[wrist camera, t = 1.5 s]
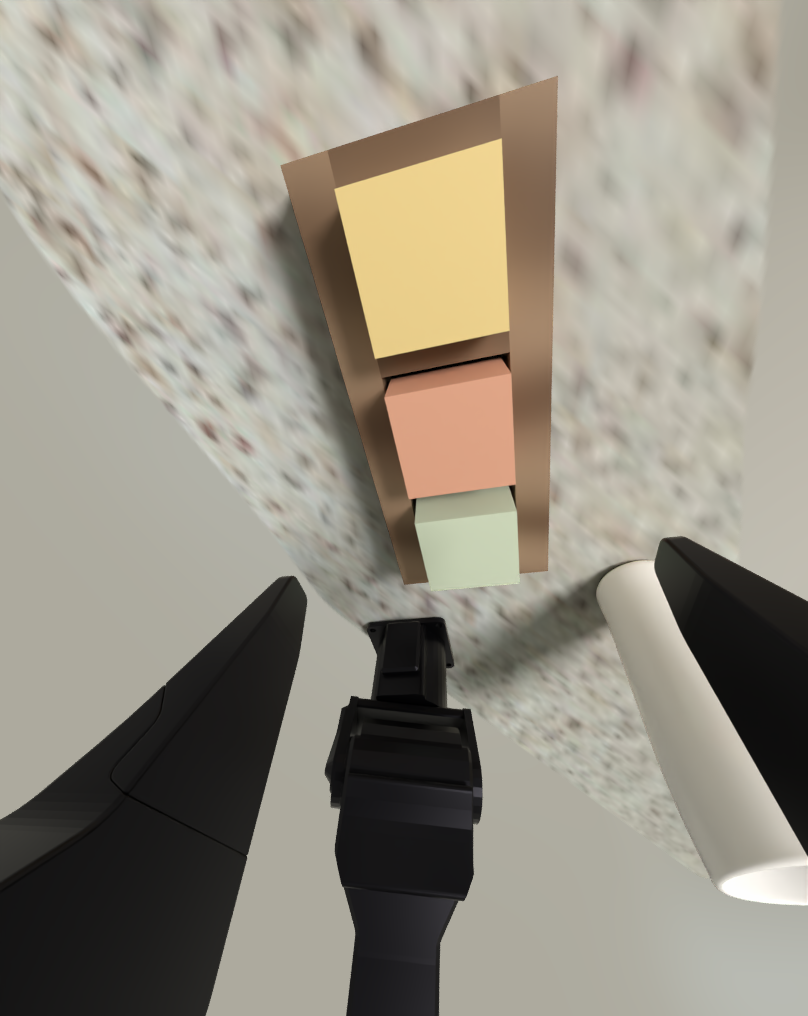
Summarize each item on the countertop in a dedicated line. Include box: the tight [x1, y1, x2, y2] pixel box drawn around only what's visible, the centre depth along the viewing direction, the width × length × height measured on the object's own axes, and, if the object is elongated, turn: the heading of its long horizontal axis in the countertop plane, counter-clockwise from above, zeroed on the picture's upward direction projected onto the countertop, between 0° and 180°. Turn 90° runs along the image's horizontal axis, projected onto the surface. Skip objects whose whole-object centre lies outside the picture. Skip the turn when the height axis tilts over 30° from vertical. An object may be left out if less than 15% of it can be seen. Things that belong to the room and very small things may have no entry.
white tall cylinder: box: [596, 560, 808, 905], centre depth 19 cm, size 7×7×15 cm
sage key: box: [415, 486, 520, 591], centre depth 20 cm, size 5×5×3 cm
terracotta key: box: [384, 357, 516, 499], centre depth 17 cm, size 5×5×3 cm
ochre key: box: [334, 138, 510, 359], centre depth 13 cm, size 5×5×3 cm
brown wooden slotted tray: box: [280, 76, 558, 585], centre depth 18 cm, size 21×9×2 cm, turn 12°
